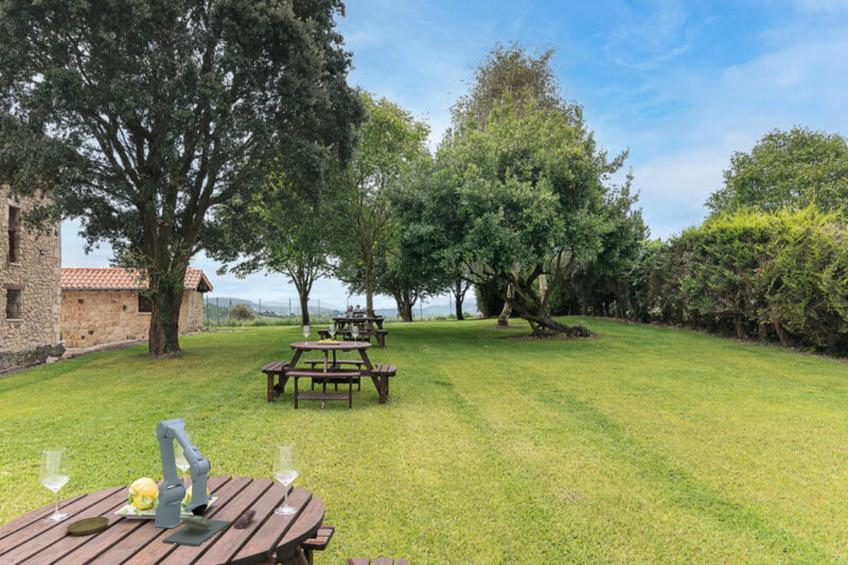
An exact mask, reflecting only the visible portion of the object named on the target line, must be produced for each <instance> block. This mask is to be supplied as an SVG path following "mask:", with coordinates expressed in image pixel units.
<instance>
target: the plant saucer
mask: <svg viewBox="0 0 848 565" xmlns="http://www.w3.org/2000/svg"><path fill="white" fill-rule="evenodd" d="M109 522H110V518H109V517H106V516H94V517H93V516H92V517H87V518H83V519H79V520H76V521H74V522H72V523H69V524H68V525H67V527H66V530H67V531H68V532H69V533H71V535H74V536H86V535H91V534H94V533H97V532H99V531H101V530H103V529H104V528H105V527H106V526H107V525H108V524H109Z"/></svg>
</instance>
